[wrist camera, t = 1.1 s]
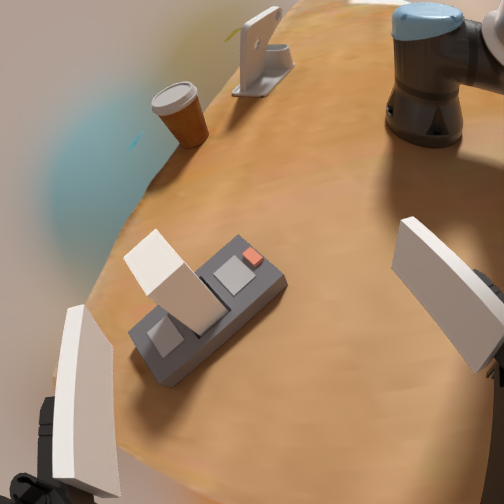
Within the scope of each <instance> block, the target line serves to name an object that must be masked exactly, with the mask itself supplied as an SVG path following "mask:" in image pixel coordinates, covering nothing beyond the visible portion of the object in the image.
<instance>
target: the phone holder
mask: <svg viewBox="0 0 504 504" xmlns="http://www.w3.org/2000/svg"><path fill="white" fill-rule="evenodd" d="M281 17H282V9H281V8H280V7H276V6H272V7H271V8H269V9H267V10H266V11H264V12H262V13H261V14H259V15H257V16H256V17H254V18H253V19H251V20H249V21H248V22H246V23H245V24H244V26H243V27H242V29H241V39H240V40H241V41H240V43H241V44H240V84H239V85H238V86H237V87H236V88H235V89H234V90H233V91H232V94H233V95H234V96H251V97H261V96H264V97H265V96H267V95H269V94H270V93H271V91H272V90H273V89H274V88H275V87H276V86H277V85H278V84H279V83H280V82H281V81H282V80H283V79H284V78H285V77H286V75H287V74H288V73H289V72H290V71H291V70H292V69H293V68H294V67H295V64H294V63H293V61H292V57H291V53H290V49H289V46H288V45H285V44H269V45H267V43H268V41H269V40H270V38H271V36H272V34H273V33H274V31H275V29H276V27H277V25H278V24H279V22H280V20H281ZM258 38H259V43H258V44H257V47H255V48H254V44H255V41H256V40H257V39H258Z"/></svg>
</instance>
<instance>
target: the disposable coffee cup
mask: <svg viewBox="0 0 504 504" xmlns="http://www.w3.org/2000/svg"><path fill="white" fill-rule="evenodd" d="M152 111H153V112H154V113H155V114H157V115H158V116H159V117H160V118H161V120H162V121H163V122H164V123H165V125H166V126H167V127H168V129H169V130H170V131H171V132H172V134H173V135H174V136H175V138H176V139H177V140H178V141H179V143H180V144H181V145H182V147H184V148H193V147H196V146H198V145H200V144H201V143H203V142H204V141H205V140H206V139H207V137H208V135H209V132H208V129H207V126H206V123H205V119H204V116H203V113H202V109H201V107H200V103H199V100H198V96H197V88H196V87H195V86H193V85H192V83H190V82H180V83H176V84H174V85H171V86H169V87H167V88H166V89H164V90H162V91H161V92H160V93H158V94H157V95H156V96H155V97H154V98H153V100H152Z"/></svg>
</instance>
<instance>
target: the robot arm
mask: <svg viewBox="0 0 504 504" xmlns="http://www.w3.org/2000/svg"><path fill="white" fill-rule="evenodd" d="M391 35H392V37H393V41H394V64H395V84H394V87H393V89H392V92H391V95H390V97H389V100H388V103H387V105H386V121H387V124H388V126H389V127H390V129H391V130H392V131H393V132H394V133H395V134H397V135H398V136H399V137H401V138H403V139H404V140H406V141H409V142H411V143H414V144H417V145H420V146H425V147H434V148H438V147H446V146H450V145H452V144H454V143H456V142H457V141H458V140H459V139H460V137H461V134H462V129H463V117H462V112H461V106H460V102H459V97H458V93H459V85H460V84H462V85H467V86H472V87H476V88H480V89H483V90H487V91H491V92H494V93H498V94H501V95H504V0H501V2H500V5H499V8H498V10H495V11H491V12H489V13H488V14H487V15H486V16H485V17H484V19H483V22H482V23H480V22H476V21H472V20H467V19H464V16H463V13H462V12H461V11H460V10H459V9H457V8H455V7H452V6H446V5H444V4H439V3H411V4H406V5H403V6H400V7H398V8H397V9H396V10H395V11H394V12H393V15H392V32H391ZM391 269H392V270H393V271H394V272H395V273H396V275H397V276H398V277H399V278H400V279H401V280H402V282H403V283H404V284H405V285H406V286H407V288H408V289H409V290H410V291H411V292H412V293H413V295H414V296H415V297H416V298H417V299H418V301H419V302H420V303H421V304H422V306H423V307H424V308H425V309H426V311H427V312H428V313H429V314H430V316H431V317H432V318H433V319H434V321H435V322H436V323H437V324H438V326H439V327H440V328H441V329H442V331H443V332H444V333H445V335H446V336H447V337H448V339H449V340H450V341H451V343H452V344H453V345H454V346H455V348H456V349H457V351H458V352H459V353H460V355H461V356H462V357H463V359H464V360H465V361H466V363H467V364H468V366H469V367H470V368H471V370H472V371H473V373H474V374H476V373H478V372H479V371H481V370H482V369H483V368H485V367H486V366H487V365H488V364H489V362H490V361H491V360H492V358H493V357H494V358H495V359H496V361H495V363H494V364H493V365H492V367H491V368H490V369H489V371H488V372H487V375H486V378H488V377H489V376H490V375H491V374H492V373H493V371H494V374H493V375H492V377H491V378H492V379H494V406H493V423H492V434H491V444H490V452H489V460H488V466H487V472H486V478H485V484H484V489H483V493H482V498H481V503H480V504H504V294H503V293H502V292H500V290H499V289H498V288H497V287H496V285H495V286H494V283H493V282H492V281H491V280H490V279H489V278H488V277H487V276H486V275H484V274H483V273H481V272H479V271H478V270H476V269H474V270H471V269H470V268H469V267H468V266H467V265H466V264H465V263H464V262H463V261H462V260H461V259H460V258H459V257H458V256H457V255H456V254H455V253H454V252H453V251H452V250H451V249H449V248H448V247H447V246H446V245H445V244H444V243H443V242H442V241H441V240H440V239H439V238H438V237H436V236H435V235H434V234H433V233H432V232H431V231H430V230H429V229H427V228H426V227H425V226H424V225H423V224H422V223H421V222H419V221H418V220H417V219H416V218H415V217H414V216H412V217H409V218H405V219H402V220H400V225H399V231H398V237H397V242H396V247H395V252H394V257H393V262H392V267H391ZM39 425H40V427H39V432H38V435H39V438H38V464H37V465H38V467H37V468H38V469H37V470H38V471H37V472H38V473H37V478H36V477H34V476H32V475H30V474H27V473H19V474H18V475H16V476H15V477H14V478H13V480H12V481H11V485H10V497H11V499H9V498H6V497H4V496H1V495H0V504H97V503H95V502H94V496H93V495H95V496H98V497H101V498H118V497H121V490H120V482H119V474H118V465H117V454H116V442H115V427H114V405H113V346H112V345H111V344H110V342H109V341H108V339H107V338H106V336H105V335H104V333H103V332H102V331H101V329H100V328H99V326H98V325H97V323H96V322H95V320H94V319H93V317H92V315H91V314H90V312H89V311H88V309H87V308H86V306H85V304H83V305H79V306H75V307H71V308H68V311H67V316H66V321H65V326H64V333H63V338H62V344H61V351H60V358H59V365H58V374H57V382H56V393H55V396H54V397H46V398H45V400H44V403H43V405H42V407H41V410H40V418H39Z"/></svg>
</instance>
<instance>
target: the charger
mask: <svg viewBox="0 0 504 504" xmlns="http://www.w3.org/2000/svg"><path fill="white" fill-rule="evenodd" d="M123 258H124V260H125V261H126V263H127V265H128V266H129V268H130V270H131V271H132V273H133V274H134V276H135V278H136V279H137V281H138V282H139V284H140V286H141V287H142V289H143V290H144V292H145V293H146V295H147V296H148V297H149V298H150V299H152V300H153V301H154V302H156V303H157V304H158V305H159V306H161V307H162V308H163V309H165V310H166V311H167V312H169V313H170V314H171V315H173V316H174V317H175V318H177V319H178V320H179V321H181V322H182V323H183V324H185V325H186V326H187V327H189V328H190V329H191V330H193V331H194V332H196V333H197V334H198V335H200V336H201V337H202V336H203V335H204V334H206V333H207V332H208V331H209V330H210V329H211V328H212V327H214V326H215V325H216V324H217V323H218V322H219V321H220V320H221V319H223V318H224V317H225V316H226V315H227V314H228V313H229V311H228V310H227V309H226V308H225V307H224V306H223V305H222V303H221V302H220V301H219V300H218V299H217V298H216V297H215V296H214V294H213V293H212V292H211V291H210V290H209V289H208V288H207V287H206V285H205V284H204V283H203V282H202V281H201V280H200V279H199V278H198V276H197V275H196V274H195V273H194V272H193V271H192V270H191V269H190V267H189V266H188V265H187V264H186V263H185V262H184V261H183V260H182V258H181V257H180V256H179V255H178V254H177V253H176V252H175V250H174V249H173V248H172V247H171V246H170V245H169V243H168V242H167V241H166V240H165V239H164V238H163V236H162V235H161V234H160V233H159V232H158V231H157V229H155V230H153V231H152V232H151V233H150V234H149V235H148V236H147V237H146V238H144V239H143V240H142V241H141V242H140V243H139V244H138V245H137V246H135V247H134V248H133V249H132V250H131V251H130V252H129V253H128V254H127V255H126V256H124V257H123Z"/></svg>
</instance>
